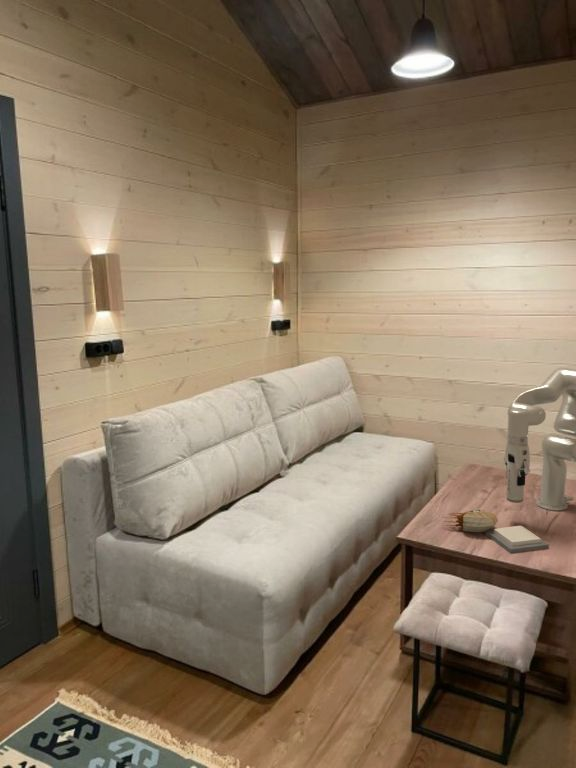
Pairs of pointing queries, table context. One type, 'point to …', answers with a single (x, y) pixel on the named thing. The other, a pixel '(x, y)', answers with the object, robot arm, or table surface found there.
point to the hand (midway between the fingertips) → (515, 481)
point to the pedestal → (516, 539)
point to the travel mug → (513, 482)
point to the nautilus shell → (474, 520)
